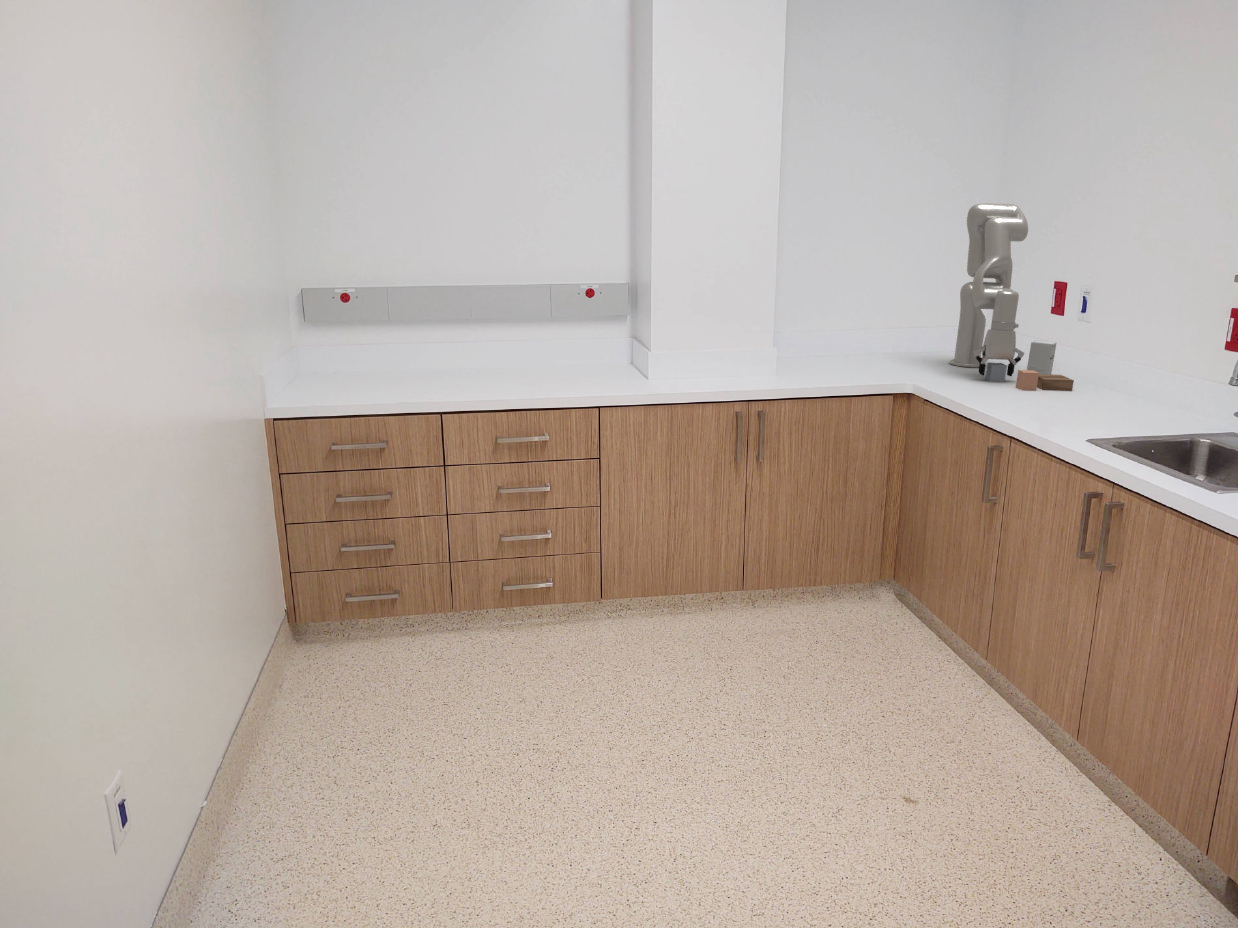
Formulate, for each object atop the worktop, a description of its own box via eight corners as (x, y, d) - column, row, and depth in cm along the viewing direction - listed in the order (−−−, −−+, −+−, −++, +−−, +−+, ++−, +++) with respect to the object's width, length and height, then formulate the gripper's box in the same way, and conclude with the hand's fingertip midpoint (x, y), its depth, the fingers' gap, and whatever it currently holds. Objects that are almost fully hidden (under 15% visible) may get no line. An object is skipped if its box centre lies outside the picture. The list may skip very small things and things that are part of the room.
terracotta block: (1015, 387, 314) (1018, 369, 313) (1030, 387, 314) (1033, 370, 312) (1021, 390, 309) (1023, 372, 308) (1036, 390, 309) (1039, 373, 308)
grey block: (985, 379, 327) (987, 362, 325) (999, 379, 327) (1001, 363, 325) (989, 381, 322) (992, 365, 320) (1004, 382, 322) (1006, 365, 320)
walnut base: (1030, 385, 320) (1031, 373, 319) (1058, 386, 320) (1060, 374, 319) (1042, 391, 311) (1044, 379, 310) (1071, 391, 311) (1073, 380, 309)
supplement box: (1046, 379, 330) (1052, 344, 327) (1025, 376, 335) (1030, 341, 331) (1051, 376, 336) (1057, 342, 332) (1030, 373, 340) (1035, 339, 337)
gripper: (1023, 326, 322) (1016, 374, 327) (973, 324, 323) (967, 372, 328) (1031, 329, 315) (1024, 378, 320) (981, 327, 316) (974, 376, 321)
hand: (995, 375), depth 324 cm, fingers open, 9 cm apart
